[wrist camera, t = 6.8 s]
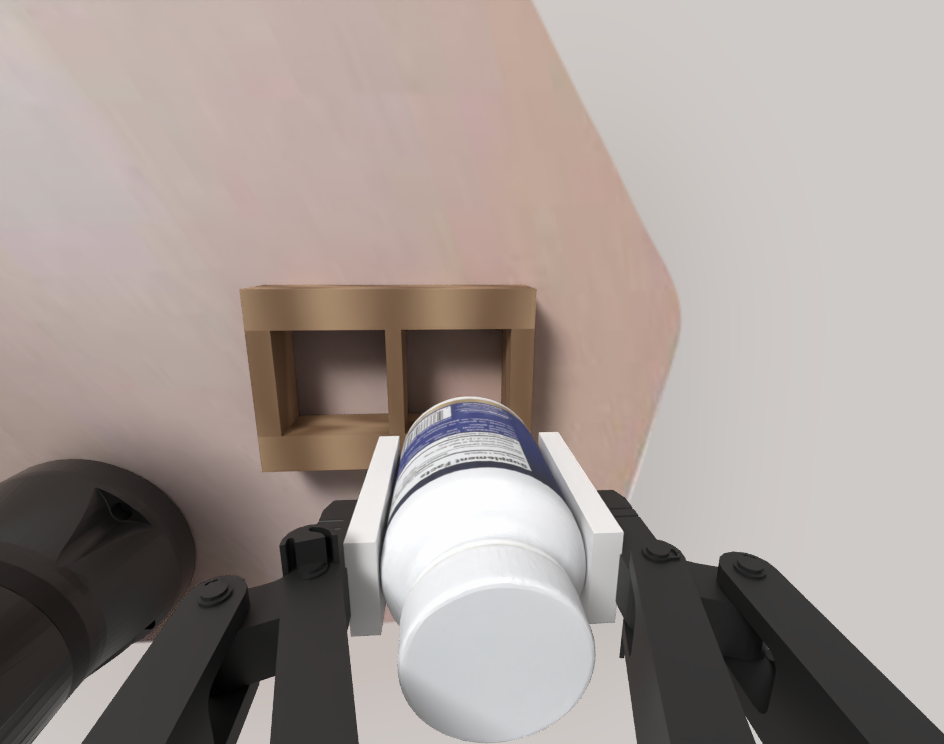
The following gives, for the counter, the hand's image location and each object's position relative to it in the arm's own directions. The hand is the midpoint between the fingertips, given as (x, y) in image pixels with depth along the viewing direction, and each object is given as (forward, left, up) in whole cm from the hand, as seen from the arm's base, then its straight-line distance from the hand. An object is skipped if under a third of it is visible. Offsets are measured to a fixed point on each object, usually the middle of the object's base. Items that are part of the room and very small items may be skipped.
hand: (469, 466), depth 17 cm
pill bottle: (0, 0, -1) cm, 1 cm away
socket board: (-4, 0, -16) cm, 17 cm away
